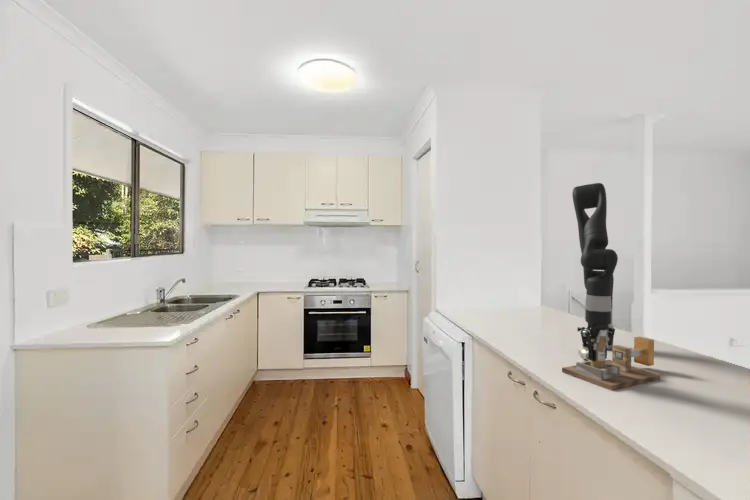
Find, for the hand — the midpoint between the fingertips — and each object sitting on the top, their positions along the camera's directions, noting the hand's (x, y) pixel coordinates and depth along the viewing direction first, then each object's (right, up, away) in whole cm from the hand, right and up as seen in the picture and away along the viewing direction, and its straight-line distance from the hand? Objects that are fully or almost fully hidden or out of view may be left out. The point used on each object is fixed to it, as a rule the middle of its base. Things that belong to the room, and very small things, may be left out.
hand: (597, 359), depth 127 cm
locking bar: (+16, -4, +7) cm, 18 cm away
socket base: (+6, -6, +2) cm, 9 cm away
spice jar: (0, -3, 0) cm, 3 cm away
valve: (+8, -6, +21) cm, 23 cm away
